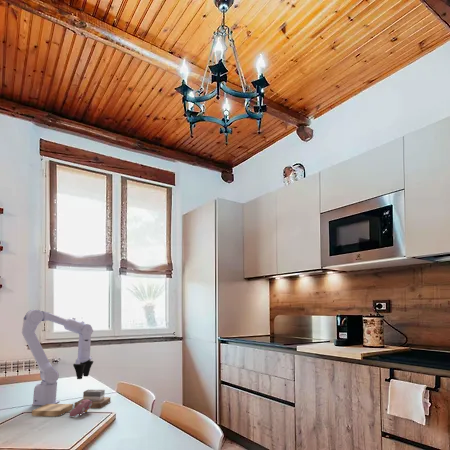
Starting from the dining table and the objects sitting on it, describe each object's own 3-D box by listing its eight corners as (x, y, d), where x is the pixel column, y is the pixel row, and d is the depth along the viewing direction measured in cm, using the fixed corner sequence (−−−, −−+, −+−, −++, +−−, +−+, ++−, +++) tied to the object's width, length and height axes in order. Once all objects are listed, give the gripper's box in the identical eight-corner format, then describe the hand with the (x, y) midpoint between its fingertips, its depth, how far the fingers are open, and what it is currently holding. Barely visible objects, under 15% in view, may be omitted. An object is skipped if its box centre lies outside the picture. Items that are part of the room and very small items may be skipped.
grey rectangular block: (100, 401, 187) (100, 391, 188) (83, 401, 188) (83, 391, 188) (104, 398, 192) (104, 389, 193) (87, 398, 192) (87, 389, 193)
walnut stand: (74, 407, 184) (74, 402, 184) (85, 401, 196) (85, 397, 196) (100, 407, 183) (101, 403, 183) (110, 401, 195) (110, 397, 195)
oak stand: (31, 415, 171) (32, 410, 171) (46, 408, 183) (46, 403, 183) (59, 416, 170) (60, 410, 171) (72, 408, 182) (72, 404, 182)
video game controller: (76, 421, 167) (84, 405, 168) (67, 416, 168) (75, 399, 169) (88, 415, 177) (96, 400, 178) (80, 410, 178) (87, 394, 179)
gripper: (86, 350, 198) (84, 380, 195) (97, 347, 212) (96, 375, 210) (71, 350, 198) (70, 380, 196) (84, 347, 213) (82, 375, 210)
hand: (82, 377), depth 203 cm, fingers open, 7 cm apart
